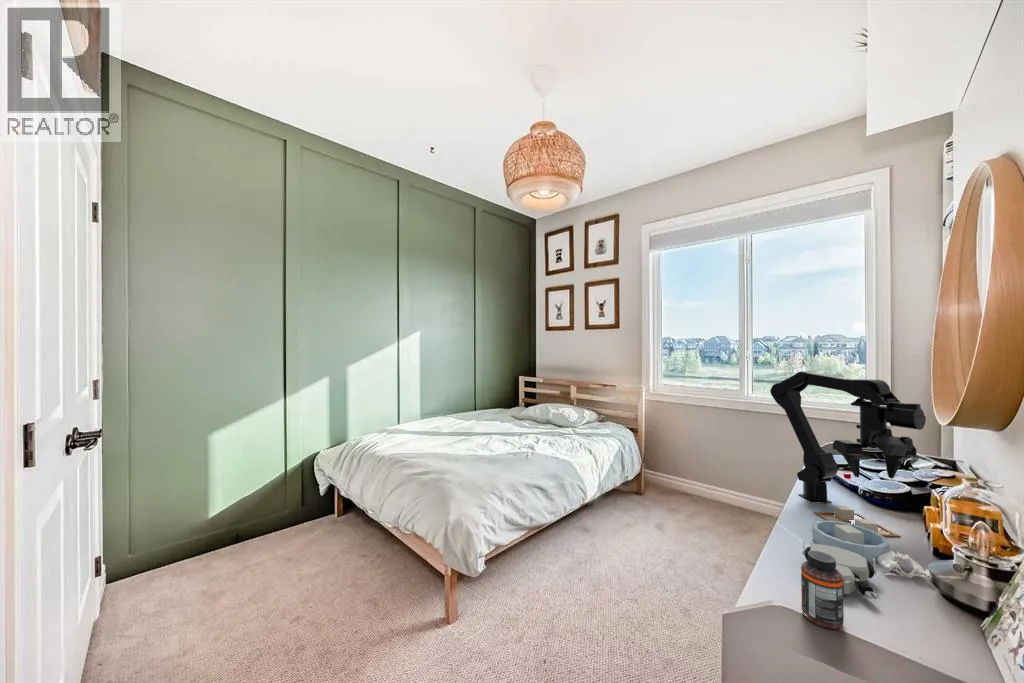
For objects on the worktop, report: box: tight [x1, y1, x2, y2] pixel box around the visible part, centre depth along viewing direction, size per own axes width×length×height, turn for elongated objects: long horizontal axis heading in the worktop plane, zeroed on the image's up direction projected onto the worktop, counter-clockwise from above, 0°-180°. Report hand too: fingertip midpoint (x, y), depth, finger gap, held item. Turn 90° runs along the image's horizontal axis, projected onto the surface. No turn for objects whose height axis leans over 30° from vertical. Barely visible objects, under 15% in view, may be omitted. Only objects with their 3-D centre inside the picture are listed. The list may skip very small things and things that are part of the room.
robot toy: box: [802, 540, 879, 600], centre depth 83 cm, size 12×4×15 cm
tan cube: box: [833, 505, 855, 520], centre depth 113 cm, size 3×3×3 cm
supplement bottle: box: [800, 551, 845, 630], centre depth 71 cm, size 6×6×11 cm
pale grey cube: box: [855, 518, 879, 533], centre depth 104 cm, size 3×3×3 cm
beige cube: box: [834, 525, 864, 545], centre depth 96 cm, size 4×4×4 cm
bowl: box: [811, 519, 891, 563], centre depth 96 cm, size 14×14×4 cm
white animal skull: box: [877, 550, 932, 580], centre depth 85 cm, size 8×4×7 cm
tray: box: [813, 511, 902, 539], centre depth 109 cm, size 14×12×1 cm
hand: (873, 477), depth 113 cm, fingers open, 9 cm apart
